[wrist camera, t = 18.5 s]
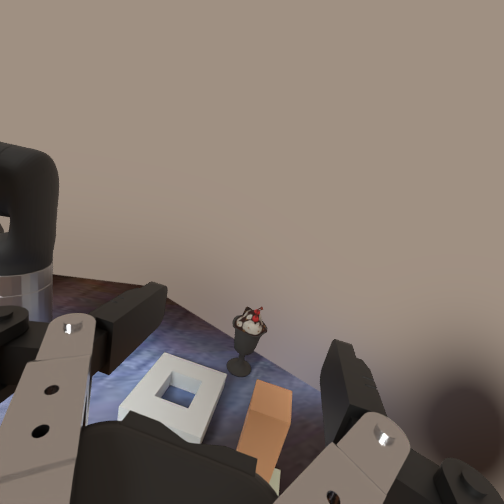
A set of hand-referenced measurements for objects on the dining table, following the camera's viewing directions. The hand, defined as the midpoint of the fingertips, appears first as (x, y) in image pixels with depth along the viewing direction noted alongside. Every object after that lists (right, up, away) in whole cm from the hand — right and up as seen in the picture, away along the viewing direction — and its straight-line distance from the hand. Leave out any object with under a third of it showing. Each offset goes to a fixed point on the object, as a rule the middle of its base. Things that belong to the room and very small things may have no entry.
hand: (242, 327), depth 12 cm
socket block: (-11, -20, +29) cm, 37 cm away
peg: (-1, -26, +19) cm, 32 cm away
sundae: (-2, -20, +39) cm, 44 cm away
